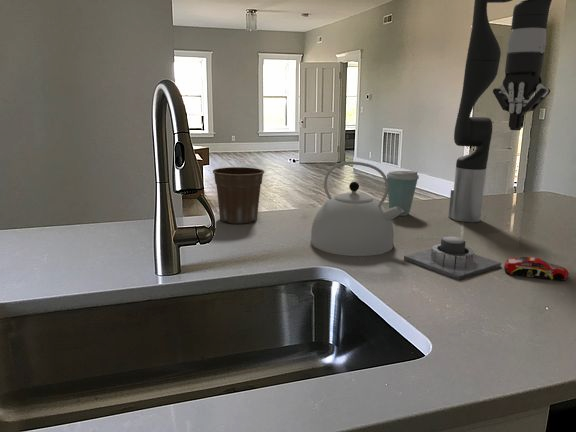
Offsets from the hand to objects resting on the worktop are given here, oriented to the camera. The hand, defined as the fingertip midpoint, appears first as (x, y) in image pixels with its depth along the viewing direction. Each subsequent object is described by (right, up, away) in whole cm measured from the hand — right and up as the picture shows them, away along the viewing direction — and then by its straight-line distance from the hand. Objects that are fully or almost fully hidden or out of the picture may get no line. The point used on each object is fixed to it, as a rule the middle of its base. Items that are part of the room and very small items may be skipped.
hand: (515, 130), depth 109 cm
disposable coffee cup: (-14, -19, +54) cm, 59 cm away
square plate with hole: (-13, -31, +5) cm, 34 cm away
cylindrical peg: (-13, -30, +5) cm, 33 cm away
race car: (+4, -34, -1) cm, 34 cm away
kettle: (-34, -28, +20) cm, 49 cm away
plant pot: (-69, -21, +44) cm, 84 cm away
